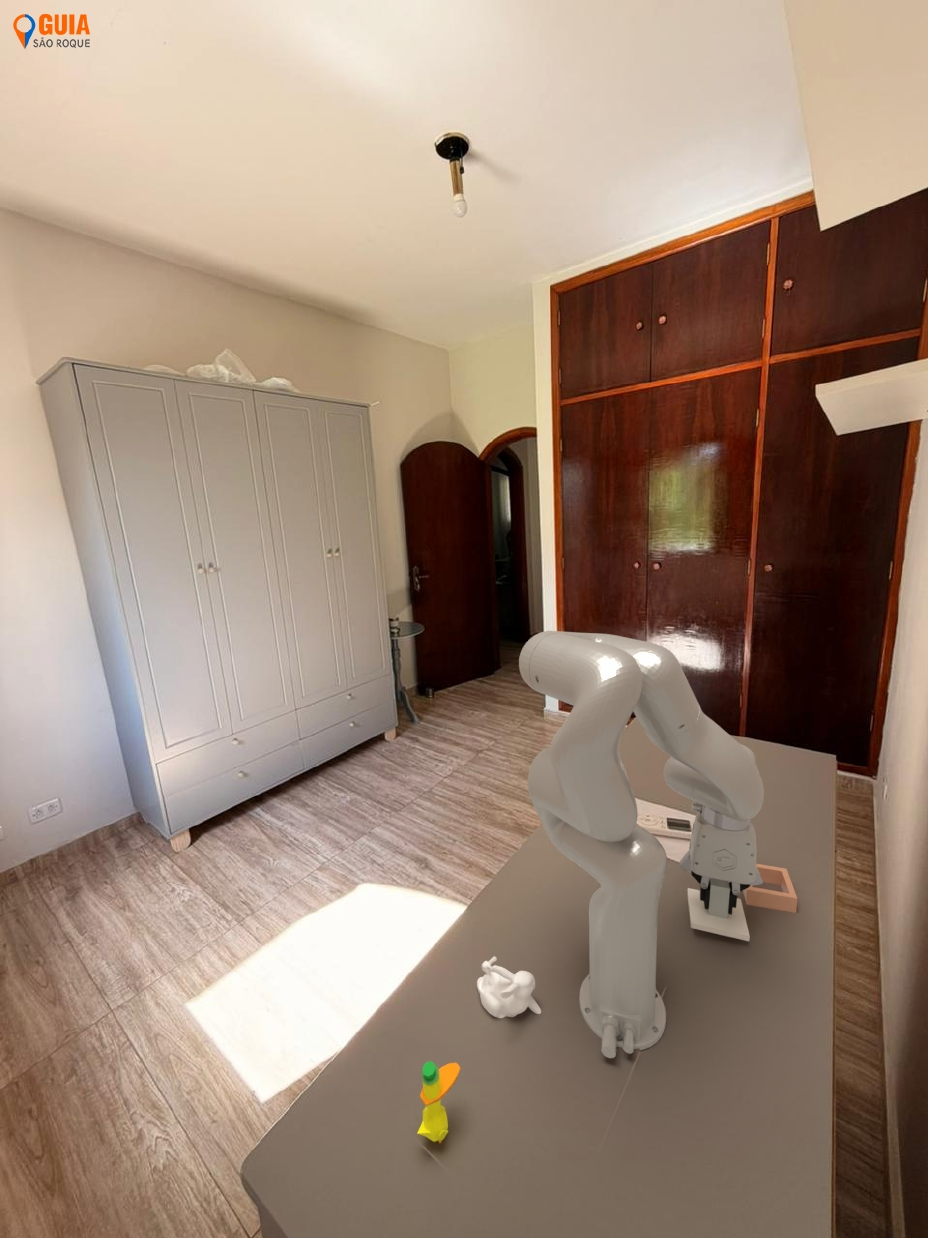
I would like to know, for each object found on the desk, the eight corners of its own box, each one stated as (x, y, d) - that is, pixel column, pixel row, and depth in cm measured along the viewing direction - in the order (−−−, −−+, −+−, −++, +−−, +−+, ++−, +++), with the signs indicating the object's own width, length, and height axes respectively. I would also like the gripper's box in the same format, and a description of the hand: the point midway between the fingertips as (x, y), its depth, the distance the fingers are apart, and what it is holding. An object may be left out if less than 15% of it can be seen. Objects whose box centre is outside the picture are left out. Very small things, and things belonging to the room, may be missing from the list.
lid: (749, 941, 84) (752, 905, 83) (690, 927, 87) (693, 892, 86) (740, 903, 92) (743, 870, 91) (687, 892, 95) (689, 860, 94)
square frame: (795, 919, 91) (797, 898, 90) (745, 910, 94) (747, 889, 93) (784, 888, 98) (786, 868, 97) (738, 880, 101) (740, 861, 100)
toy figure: (454, 1104, 66) (448, 1032, 63) (471, 1129, 63) (466, 1054, 61) (411, 1147, 62) (403, 1071, 59) (428, 1175, 59) (420, 1097, 56)
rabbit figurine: (552, 1017, 76) (551, 965, 74) (527, 1060, 71) (525, 1005, 69) (488, 976, 84) (485, 928, 82) (461, 1012, 78) (457, 961, 76)
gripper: (674, 816, 85) (668, 910, 89) (785, 835, 80) (774, 934, 83) (672, 794, 92) (667, 882, 96) (774, 810, 87) (764, 902, 90)
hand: (717, 905), depth 89 cm, fingers closed on lid, 3 cm apart
